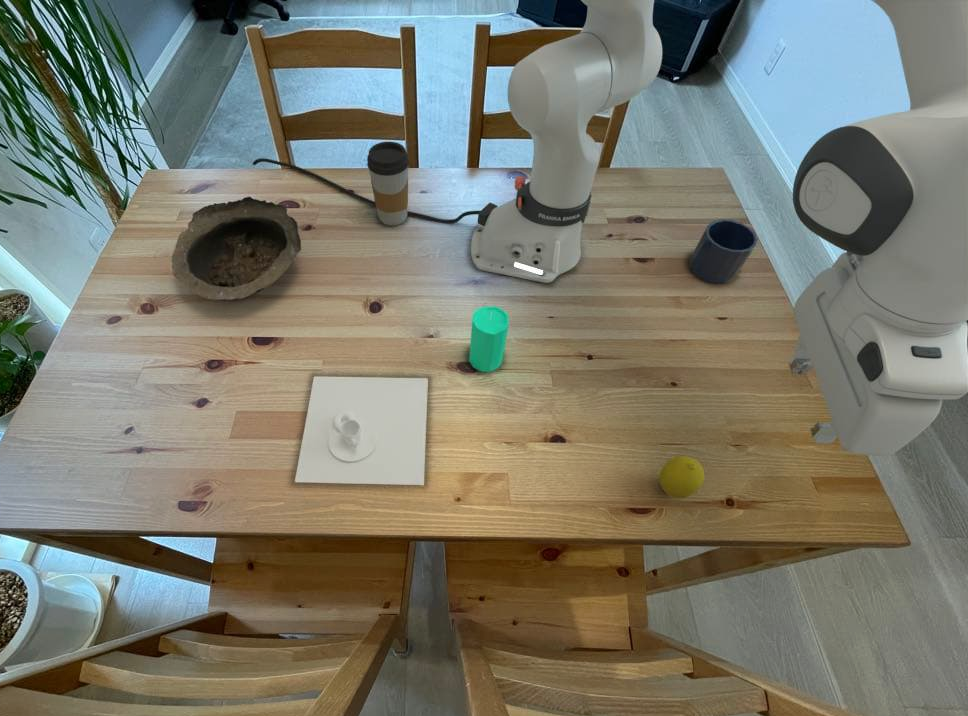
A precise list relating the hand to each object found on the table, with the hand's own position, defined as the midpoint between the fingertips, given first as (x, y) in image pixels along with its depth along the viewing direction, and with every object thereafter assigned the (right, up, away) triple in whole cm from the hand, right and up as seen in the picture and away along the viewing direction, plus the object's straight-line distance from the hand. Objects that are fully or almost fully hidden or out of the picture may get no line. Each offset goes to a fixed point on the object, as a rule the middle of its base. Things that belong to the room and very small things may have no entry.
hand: (807, 402), depth 57 cm
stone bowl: (-79, +26, +46) cm, 95 cm away
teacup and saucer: (-53, -4, +27) cm, 59 cm away
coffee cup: (-50, +41, +55) cm, 85 cm away
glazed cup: (+14, +27, +45) cm, 54 cm away
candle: (-32, +8, +34) cm, 47 cm away
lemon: (-6, -13, +20) cm, 25 cm away
